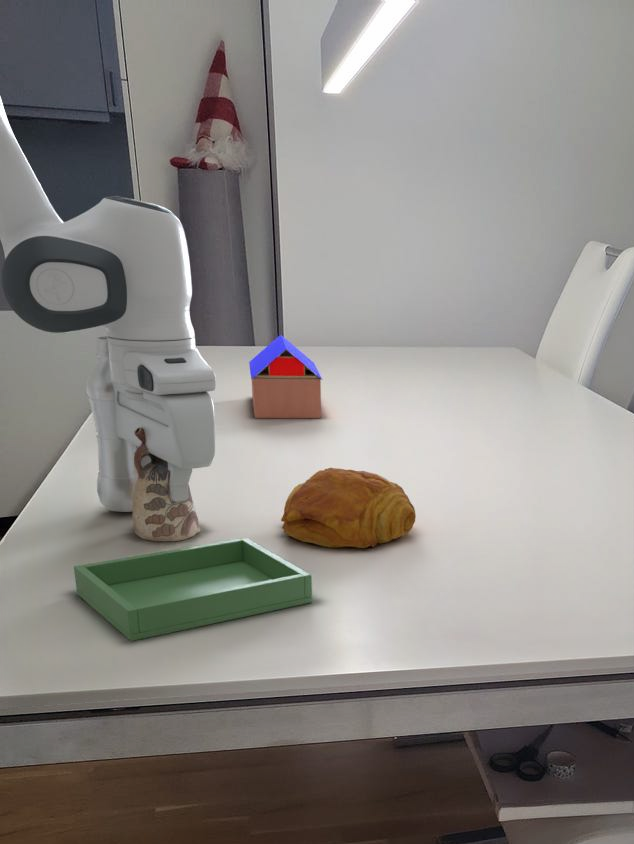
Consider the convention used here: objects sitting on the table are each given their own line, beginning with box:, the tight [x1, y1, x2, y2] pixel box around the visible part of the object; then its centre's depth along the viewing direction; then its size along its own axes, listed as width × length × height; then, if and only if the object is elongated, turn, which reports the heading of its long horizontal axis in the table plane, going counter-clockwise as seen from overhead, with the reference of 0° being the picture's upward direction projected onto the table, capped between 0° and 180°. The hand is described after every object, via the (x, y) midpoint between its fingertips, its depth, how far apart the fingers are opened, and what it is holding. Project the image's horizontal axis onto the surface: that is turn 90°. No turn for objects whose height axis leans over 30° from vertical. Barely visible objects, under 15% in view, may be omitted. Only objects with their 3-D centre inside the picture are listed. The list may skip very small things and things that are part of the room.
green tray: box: [73, 537, 313, 642], centre depth 97 cm, size 18×14×3 cm
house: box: [248, 334, 323, 419], centre depth 186 cm, size 12×20×12 cm, turn 13°
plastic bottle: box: [85, 335, 138, 513], centre depth 120 cm, size 6×7×20 cm
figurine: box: [132, 428, 201, 542], centre depth 114 cm, size 7×7×12 cm
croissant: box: [280, 467, 417, 549], centre depth 118 cm, size 14×16×8 cm
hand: (163, 491), depth 115 cm, fingers closed on figurine, 6 cm apart
